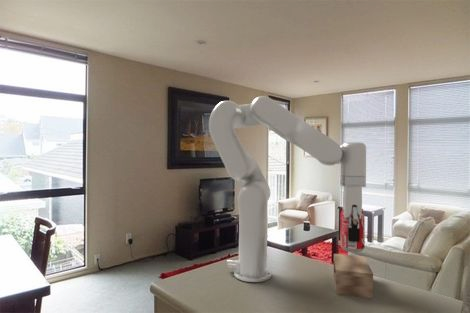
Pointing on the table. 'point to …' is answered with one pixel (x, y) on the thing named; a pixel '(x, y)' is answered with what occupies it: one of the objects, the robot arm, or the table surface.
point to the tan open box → (353, 276)
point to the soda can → (345, 243)
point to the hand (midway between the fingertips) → (352, 237)
